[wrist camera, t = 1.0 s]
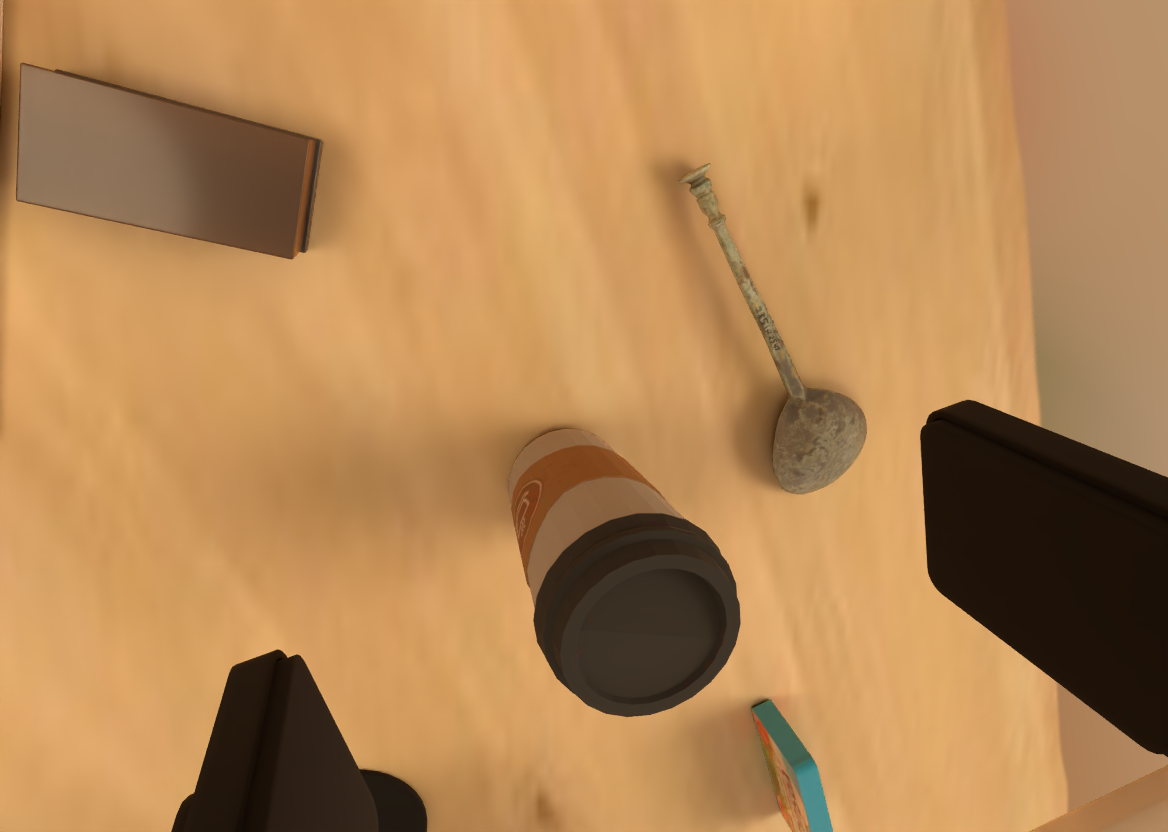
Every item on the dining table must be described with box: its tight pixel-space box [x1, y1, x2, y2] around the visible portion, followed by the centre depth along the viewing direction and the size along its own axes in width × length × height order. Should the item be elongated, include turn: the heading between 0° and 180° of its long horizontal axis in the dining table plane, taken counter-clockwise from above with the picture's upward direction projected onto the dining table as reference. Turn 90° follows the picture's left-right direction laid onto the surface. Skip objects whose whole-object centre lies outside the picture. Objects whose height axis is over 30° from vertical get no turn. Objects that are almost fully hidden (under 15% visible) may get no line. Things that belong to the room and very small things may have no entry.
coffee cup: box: [508, 429, 740, 717], centre depth 34 cm, size 8×8×15 cm
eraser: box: [16, 63, 323, 259], centre depth 29 cm, size 5×10×4 cm, turn 75°
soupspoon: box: [679, 163, 867, 494], centre depth 40 cm, size 22×3×7 cm
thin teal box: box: [751, 700, 833, 832], centre depth 50 cm, size 12×2×6 cm, turn 18°
